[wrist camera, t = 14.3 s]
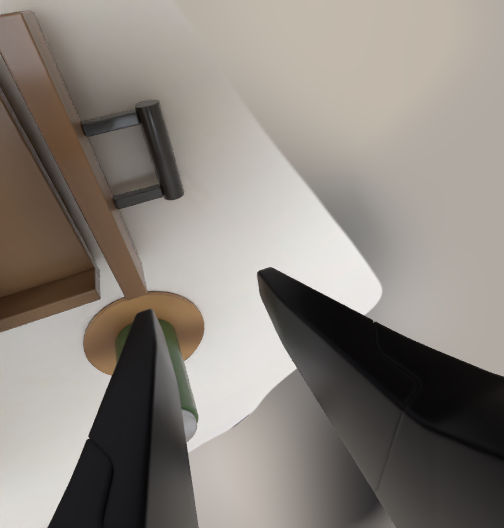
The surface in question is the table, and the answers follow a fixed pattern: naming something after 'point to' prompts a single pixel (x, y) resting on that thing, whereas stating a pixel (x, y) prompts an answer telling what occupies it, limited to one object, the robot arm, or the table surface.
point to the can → (180, 372)
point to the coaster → (123, 313)
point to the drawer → (77, 178)
